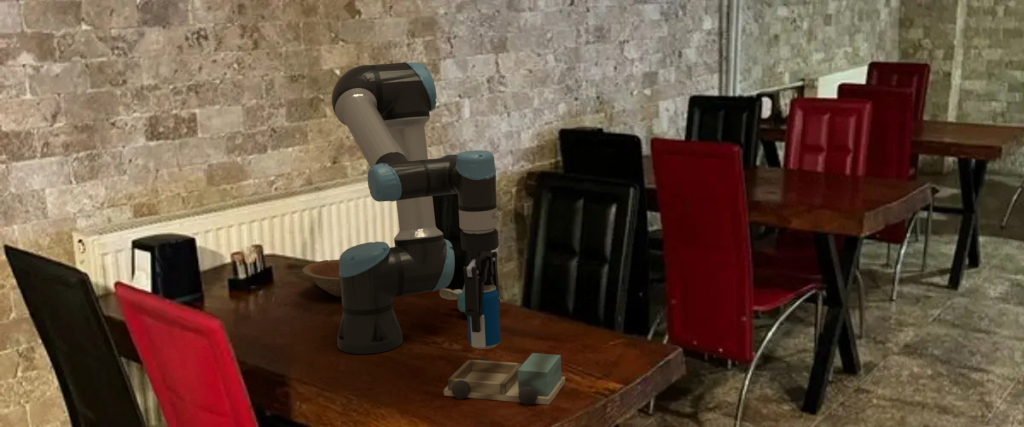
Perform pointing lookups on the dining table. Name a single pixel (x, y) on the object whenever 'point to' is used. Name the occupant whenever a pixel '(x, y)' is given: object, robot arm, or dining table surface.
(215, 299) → the dining table surface
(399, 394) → the dining table surface
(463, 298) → the toy figure
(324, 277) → the bowl
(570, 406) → the dining table surface
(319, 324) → the dining table surface
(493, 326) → the beverage can
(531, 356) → the toy truck
